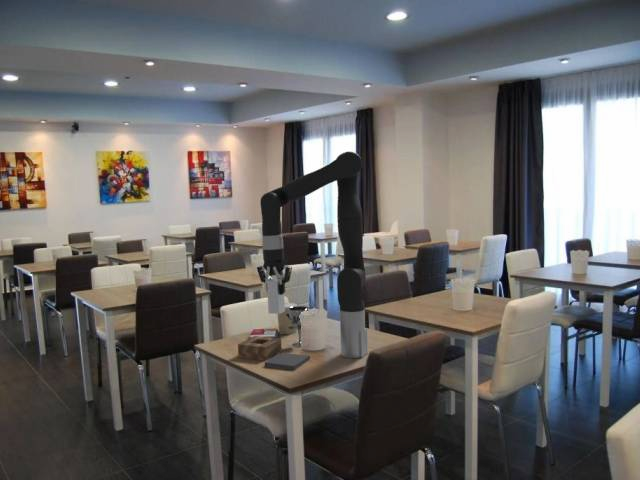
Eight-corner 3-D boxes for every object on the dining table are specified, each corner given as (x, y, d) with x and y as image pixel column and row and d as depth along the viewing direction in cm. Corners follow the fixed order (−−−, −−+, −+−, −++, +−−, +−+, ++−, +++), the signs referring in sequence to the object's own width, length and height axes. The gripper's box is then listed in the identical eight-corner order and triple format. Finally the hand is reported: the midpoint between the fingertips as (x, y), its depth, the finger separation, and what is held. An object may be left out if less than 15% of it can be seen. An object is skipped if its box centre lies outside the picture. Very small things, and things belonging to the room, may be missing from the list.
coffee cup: (290, 335, 230) (289, 308, 229) (273, 333, 235) (272, 306, 234) (302, 330, 238) (301, 303, 236) (285, 328, 243) (284, 302, 242)
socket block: (281, 351, 208) (281, 338, 208) (265, 360, 197) (265, 347, 197) (255, 348, 213) (254, 335, 213) (238, 357, 202) (237, 344, 202)
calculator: (277, 327, 231) (275, 335, 216) (278, 337, 231) (275, 345, 216) (252, 328, 231) (248, 336, 216) (252, 338, 231) (248, 346, 216)
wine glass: (300, 340, 222) (299, 305, 220) (314, 344, 216) (312, 307, 214) (286, 345, 216) (284, 308, 215) (299, 348, 210) (298, 311, 209)
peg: (285, 311, 197) (283, 278, 196) (279, 313, 193) (277, 281, 192) (274, 310, 199) (272, 278, 198) (268, 313, 195) (266, 280, 194)
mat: (309, 359, 196) (309, 355, 196) (294, 370, 186) (294, 366, 185) (280, 356, 201) (280, 352, 201) (264, 366, 191) (264, 362, 190)
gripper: (295, 246, 194) (298, 292, 196) (261, 246, 200) (264, 291, 202) (285, 248, 187) (288, 296, 189) (250, 248, 193) (253, 295, 195)
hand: (275, 293), depth 195 cm, fingers closed on peg, 4 cm apart
